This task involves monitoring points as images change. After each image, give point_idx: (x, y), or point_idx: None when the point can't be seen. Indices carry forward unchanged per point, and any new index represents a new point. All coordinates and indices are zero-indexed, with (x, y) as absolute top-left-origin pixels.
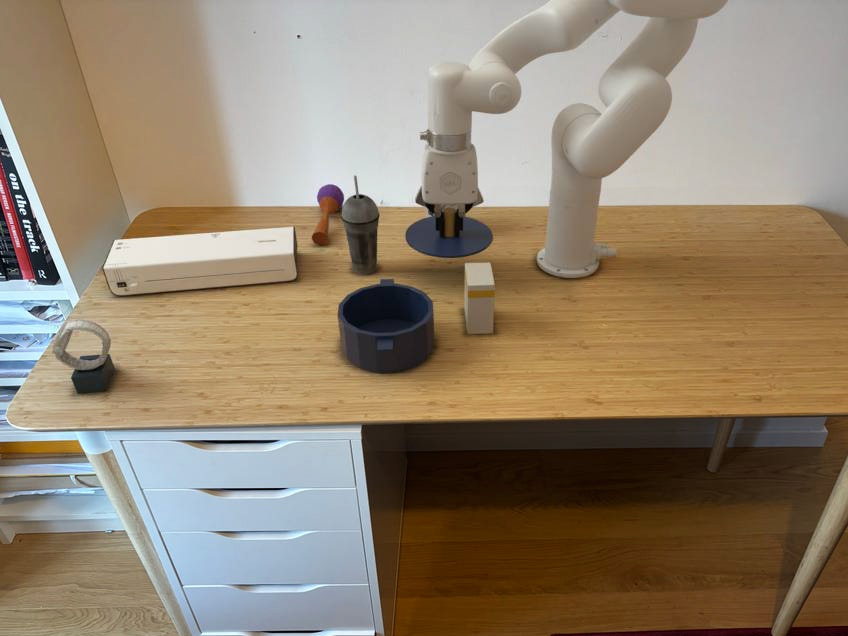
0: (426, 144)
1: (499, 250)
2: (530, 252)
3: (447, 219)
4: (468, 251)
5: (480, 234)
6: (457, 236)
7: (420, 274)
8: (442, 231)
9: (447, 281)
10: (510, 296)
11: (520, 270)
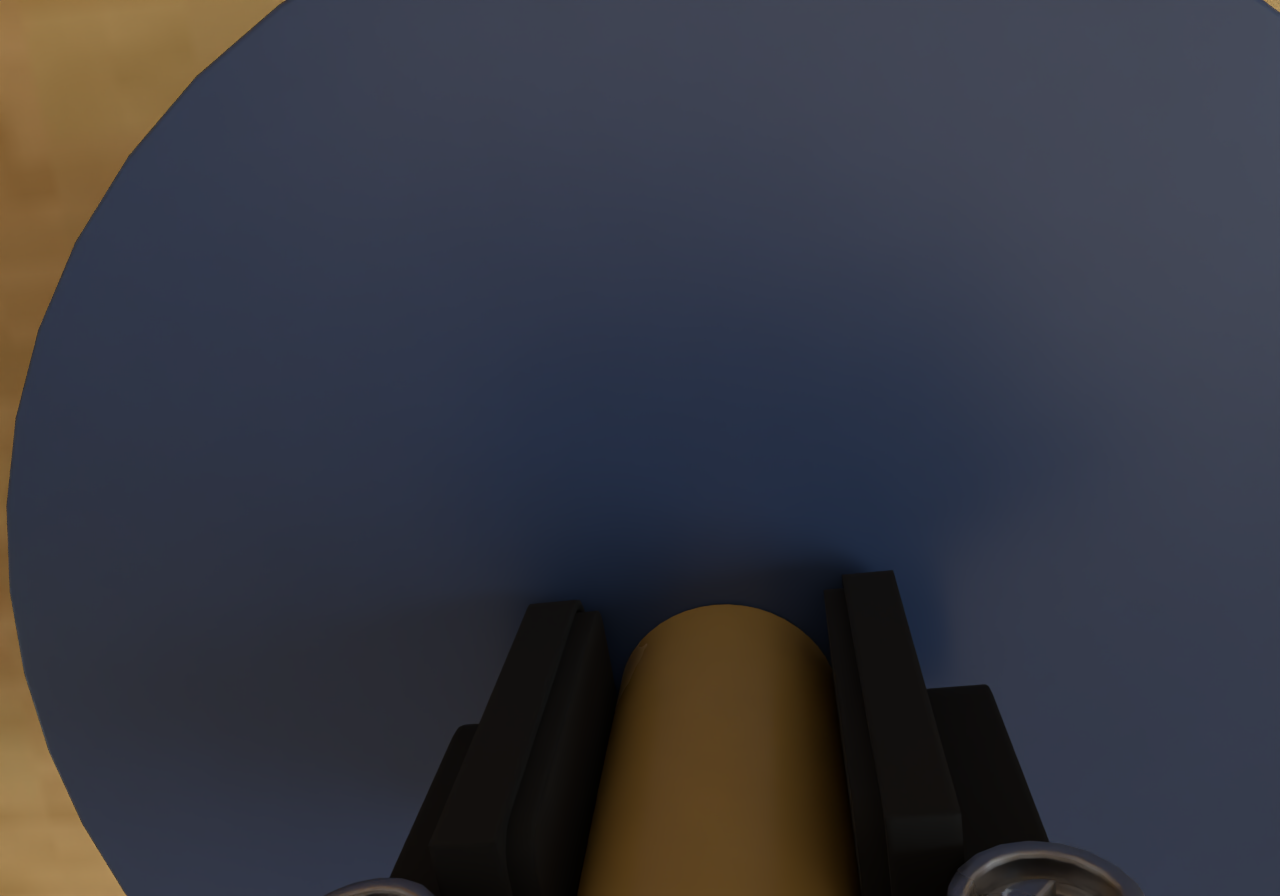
0: None
1: None
2: (34, 848)
3: (751, 835)
4: (300, 98)
5: (220, 721)
6: (568, 601)
7: None
8: (850, 629)
9: None
10: (42, 46)
11: None
